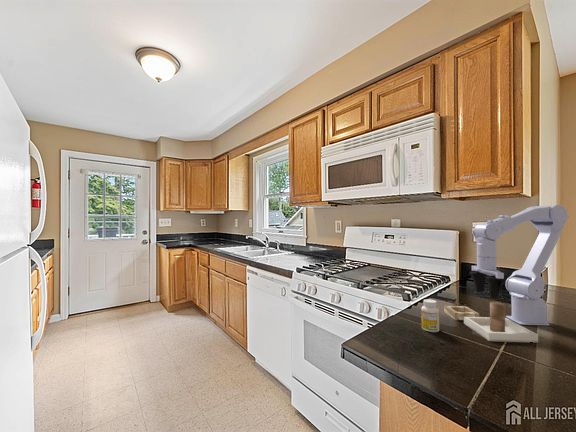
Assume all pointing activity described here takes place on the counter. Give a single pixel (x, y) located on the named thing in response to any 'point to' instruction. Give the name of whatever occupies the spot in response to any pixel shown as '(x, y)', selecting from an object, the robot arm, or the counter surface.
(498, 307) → the wooden dowel
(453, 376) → the counter surface
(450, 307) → the collar
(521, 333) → the tray
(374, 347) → the counter surface
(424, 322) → the supplement bottle
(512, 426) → the counter surface
